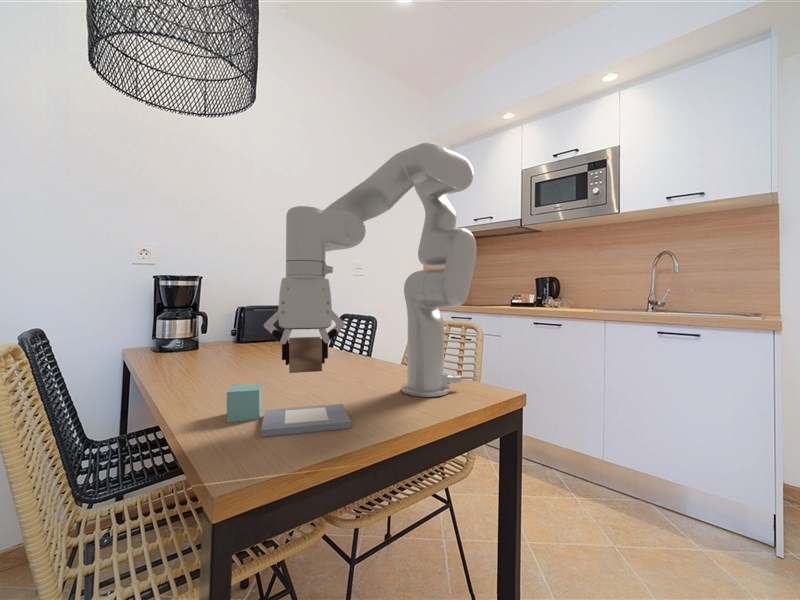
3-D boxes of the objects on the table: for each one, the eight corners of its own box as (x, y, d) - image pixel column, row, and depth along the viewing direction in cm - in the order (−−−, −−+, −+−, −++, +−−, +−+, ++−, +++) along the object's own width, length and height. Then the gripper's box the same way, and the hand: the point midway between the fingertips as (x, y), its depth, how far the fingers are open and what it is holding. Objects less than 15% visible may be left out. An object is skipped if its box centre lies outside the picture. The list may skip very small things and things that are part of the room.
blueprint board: (342, 409, 82) (342, 403, 82) (351, 427, 70) (351, 421, 70) (265, 415, 77) (265, 409, 77) (260, 436, 66) (260, 429, 66)
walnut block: (319, 365, 77) (319, 336, 77) (321, 371, 72) (321, 339, 72) (289, 367, 76) (289, 337, 76) (289, 373, 70) (289, 341, 70)
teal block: (261, 410, 81) (261, 383, 81) (259, 419, 75) (259, 390, 75) (231, 413, 79) (231, 384, 79) (226, 422, 73) (226, 392, 73)
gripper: (346, 273, 79) (346, 358, 80) (260, 271, 75) (259, 361, 75) (352, 271, 72) (351, 364, 72) (257, 268, 67) (256, 368, 67)
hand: (305, 362), depth 73 cm, fingers closed on walnut block, 6 cm apart
